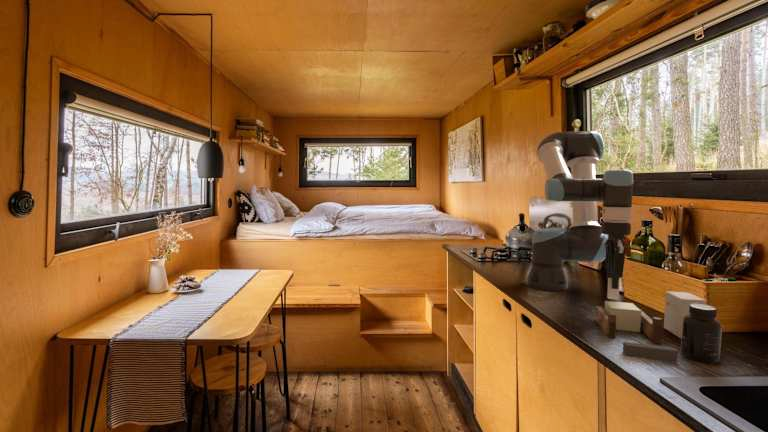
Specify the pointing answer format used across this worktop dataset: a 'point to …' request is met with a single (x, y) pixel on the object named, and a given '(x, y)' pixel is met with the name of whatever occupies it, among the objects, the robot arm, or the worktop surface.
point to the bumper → (650, 351)
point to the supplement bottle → (701, 334)
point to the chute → (647, 325)
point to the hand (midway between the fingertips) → (612, 298)
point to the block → (625, 315)
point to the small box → (678, 310)
